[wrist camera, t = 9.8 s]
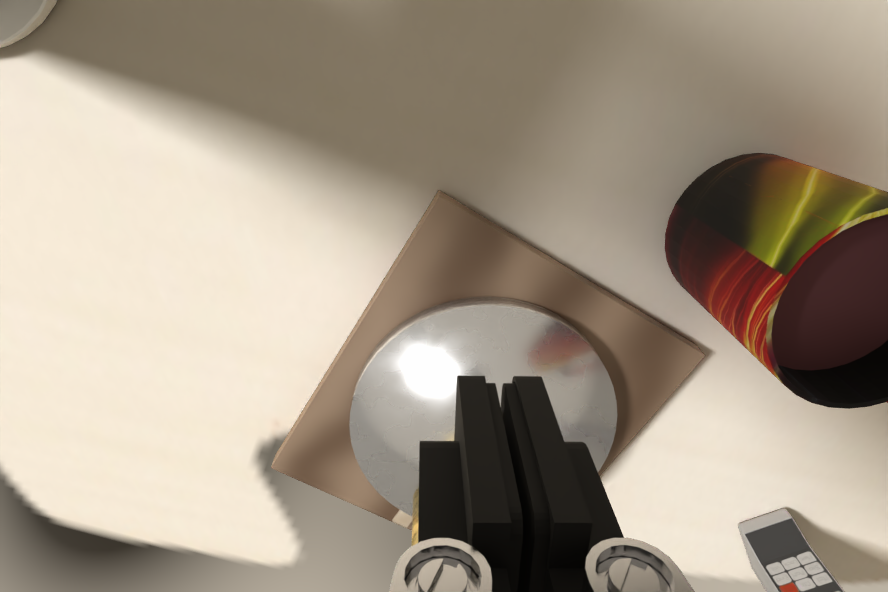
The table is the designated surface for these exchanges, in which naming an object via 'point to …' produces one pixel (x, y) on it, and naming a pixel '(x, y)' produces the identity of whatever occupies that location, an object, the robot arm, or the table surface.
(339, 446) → the base board
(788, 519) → the vintage mobile phone
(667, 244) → the mug
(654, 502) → the table surface
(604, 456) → the dial
